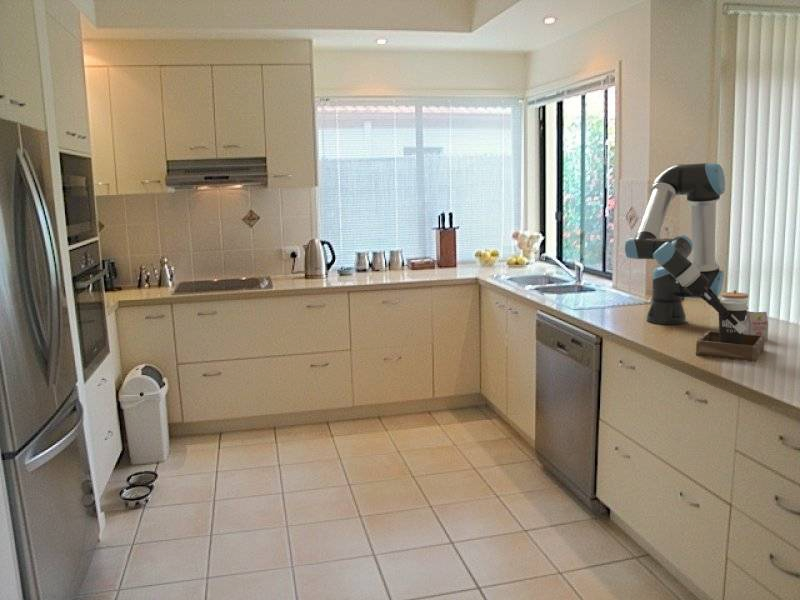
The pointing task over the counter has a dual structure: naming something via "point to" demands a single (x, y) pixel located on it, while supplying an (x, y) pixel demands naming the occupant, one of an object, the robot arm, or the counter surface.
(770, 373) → the counter surface
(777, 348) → the counter surface
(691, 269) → the robot arm
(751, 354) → the walnut crate
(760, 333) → the small food carton
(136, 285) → the counter surface
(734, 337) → the coffee cup
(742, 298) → the lidded jar
